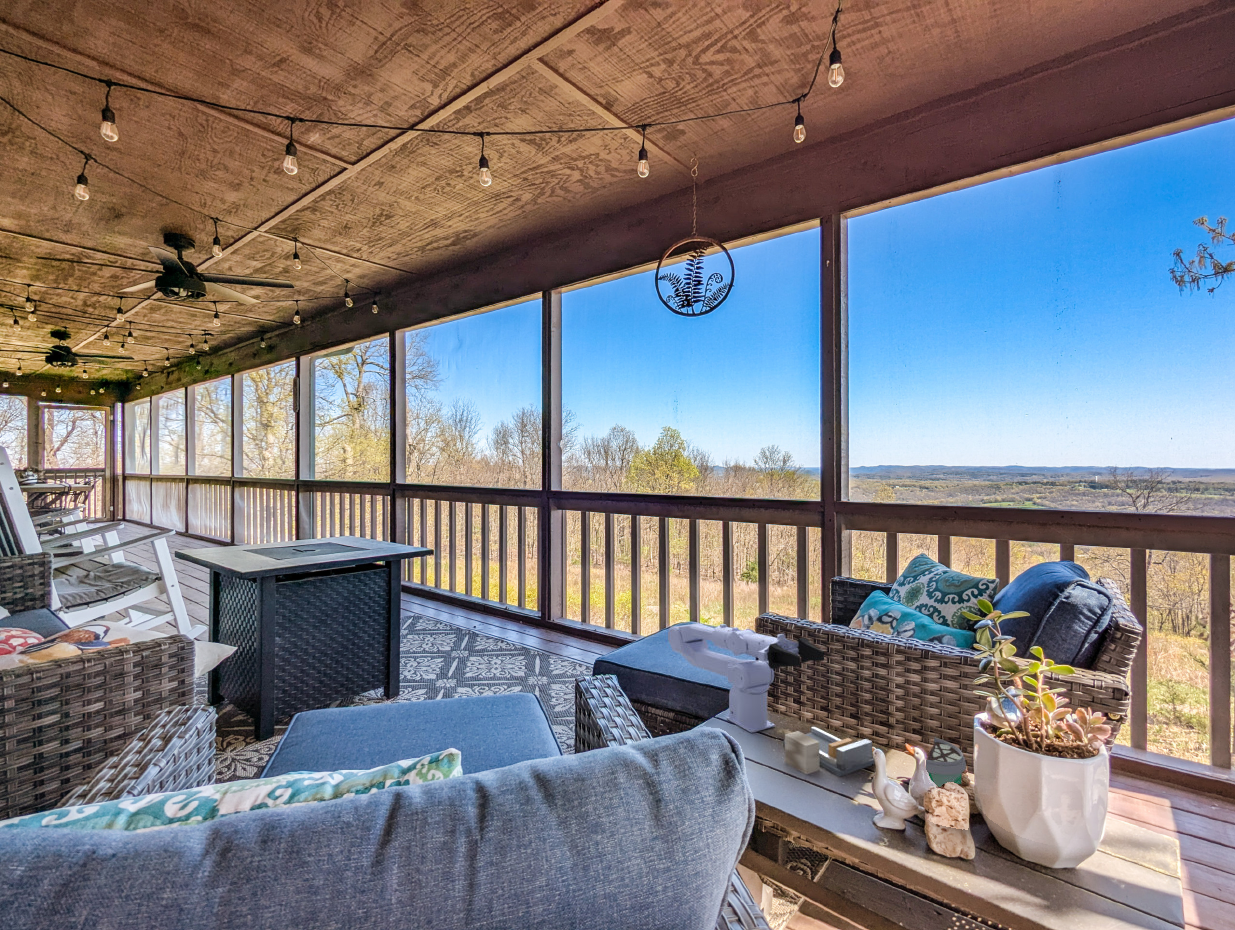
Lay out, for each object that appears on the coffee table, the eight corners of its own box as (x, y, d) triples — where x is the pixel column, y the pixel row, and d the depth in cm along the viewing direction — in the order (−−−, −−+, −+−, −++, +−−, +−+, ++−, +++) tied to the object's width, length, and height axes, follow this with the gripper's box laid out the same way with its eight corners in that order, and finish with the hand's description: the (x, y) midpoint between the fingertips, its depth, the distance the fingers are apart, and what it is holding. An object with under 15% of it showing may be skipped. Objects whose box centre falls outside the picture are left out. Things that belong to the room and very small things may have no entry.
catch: (828, 758, 124) (828, 744, 124) (848, 751, 127) (848, 737, 127) (832, 760, 123) (832, 746, 123) (852, 753, 126) (852, 740, 126)
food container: (962, 827, 102) (962, 770, 102) (923, 814, 105) (923, 759, 106) (970, 796, 111) (969, 745, 112) (934, 786, 115) (934, 736, 115)
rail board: (783, 745, 133) (783, 723, 133) (816, 735, 138) (816, 714, 138) (839, 776, 119) (839, 752, 119) (874, 764, 124) (874, 740, 124)
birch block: (784, 762, 125) (784, 734, 125) (798, 758, 127) (798, 730, 127) (806, 774, 119) (806, 745, 120) (819, 770, 121) (819, 741, 122)
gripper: (744, 635, 136) (786, 644, 125) (788, 627, 143) (832, 636, 132) (746, 665, 136) (788, 677, 124) (790, 656, 143) (834, 667, 131)
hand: (811, 658), depth 128 cm, fingers open, 7 cm apart
